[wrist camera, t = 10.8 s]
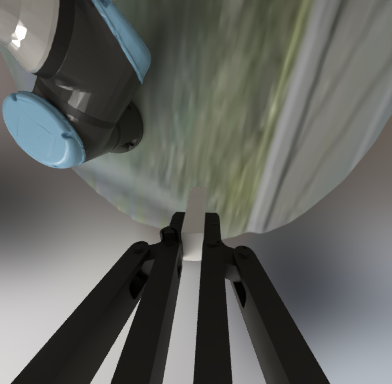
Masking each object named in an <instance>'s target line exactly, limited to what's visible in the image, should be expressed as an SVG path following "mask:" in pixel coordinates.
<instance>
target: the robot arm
mask: <svg viewBox="0 0 392 384" xmlns="http://www.w3.org/2000/svg"><path fill="white" fill-rule="evenodd" d="M0 44H2V45H4V46H5V47H7V48H8V49H9V50H10V52H11V53H12V54H13V55H14V57H15V58H16V59H17V61H18V62H19V63H20V65H21V66H22V67H23V68H24V69H25V70H26V71H28V72H30V73H32V74H34V75H37V79H36V82H35V85H34V88H33V91H32V92H28V91H19V92H18V93H12V94H10V95H8V96H7V97H6V98H5V100H4V102H3V106H2V113H3V118H4V121H5V124H6V126H7V128H8V130H9V132H10V134H11V135H12V136H13V138H14V139H15V141H16V142H17V143H18V145H19V146H20V147H21V148H22V149H23V150H24V151H25V152H27V154H29V155H30V156H31V157H33V158H34V159H35V160H37V161H39V162H40V163H43V164H45V165H47V166H50V167H53V168H69V167H73V166H78V165H81V164H83V163H84V162H86V161H88V160H91V159H93V158H96V157H98V156H100V155H103V154H105V153H108V152H111V153H125V152H128V151H130V150H132V149H134V148H135V147H136V146H137V145H138V144H139V142H140V140H141V138H142V134H143V124H142V120H141V117H140V114H139V112H138V110H137V109H136V107H135V106H134V105H133V104H132V103H131V102H130V101H131V99H132V97H133V95H134V94H135V92H136V90H137V89H138V87H139V85H140V84H142V83H143V78H144V77H145V75H146V73H147V71H148V69H149V67H150V64H151V55H150V52H149V49H148V48H147V46H146V45H145V43H144V42H143V40H142V39H141V38H140V36H139V35H138V34H137V32H136V31H135V30H134V28H133V27H132V26H131V24H130V23H129V22H128V21H127V19H126V18H125V17H124V16H123V14H122V13H121V12H120V11H119V9H118V8H117V7H116V6H115V4H114V3H113V2H112V1H111V0H0ZM160 237H161V242H159V243H156V244H152V245H148V243H147V242H144V241H139V242H136V243H134V244H133V245H131V246H130V248H129V249H128V250H127V251H126V252H125V253H124V254H123V255H122V257H121V258H120V259H119V260H118V261H117V262H116V263H115V265H114V266H113V267H112V268H111V269H110V271H109V272H108V273H107V274H106V275H105V276H104V277H103V278H102V280H101V281H100V282H99V283H98V284H97V285H96V287H95V288H94V289H93V290H92V291H91V292H90V293H89V294H88V296H87V297H86V298H85V299H84V300H83V301H82V303H81V304H80V305H79V306H78V307H77V308H76V309H75V311H74V312H73V313H72V314H71V315H70V316H69V318H68V319H67V320H66V321H65V322H64V323H63V324H62V325H61V327H60V328H59V329H58V330H57V331H56V333H55V334H54V335H53V336H52V337H51V338H50V339H49V340H48V342H47V343H46V344H45V345H44V346H43V347H42V349H41V350H40V351H39V352H38V353H37V354H36V355H35V357H34V358H33V359H32V360H31V361H30V362H29V363H28V365H27V366H26V367H25V368H24V369H23V370H22V371H21V373H20V374H19V375H18V376H17V377H16V378H15V379H14V381H13V382H12V383H11V384H90V383H91V381H92V379H93V378H94V376H95V374H96V373H97V371H98V369H99V368H100V366H101V364H102V362H103V361H104V359H105V357H106V356H107V354H108V352H109V351H110V348H111V347H112V345H113V344H114V342H115V340H116V339H117V337H118V335H119V334H120V332H121V330H122V329H123V327H124V325H125V324H126V322H127V320H128V318H129V317H130V315H131V313H132V312H133V310H134V308H135V307H136V305H137V303H138V302H139V300H140V302H139V305H138V308H137V311H136V314H135V316H134V319H133V322H132V325H131V328H130V330H129V333H128V336H127V339H126V342H125V345H124V347H123V350H122V353H121V356H120V358H119V361H118V364H117V367H116V370H115V373H114V375H113V378H112V381H111V384H162V383H163V377H164V371H165V365H166V359H167V353H168V347H169V342H170V336H171V330H172V323H173V319H174V312H175V307H176V301H177V295H178V289H179V283H180V277H181V272H182V259H183V260H191V261H201V275H200V289H199V305H198V321H197V335H196V350H195V366H194V381H193V384H232V370H231V357H230V343H229V331H228V317H227V304H226V289H225V278H226V279H229V280H230V282H231V284H232V287H233V290H234V293H235V296H236V299H237V301H238V304H239V307H240V310H241V313H242V316H243V318H244V321H245V324H246V327H247V330H248V333H249V335H250V338H251V341H252V344H253V347H254V349H255V352H256V355H257V358H258V361H259V364H260V367H261V370H262V372H263V375H264V378H265V381H266V383H267V384H330V383H329V381H328V379H327V377H326V376H325V374H324V372H323V371H322V369H321V367H320V366H319V364H318V362H317V360H316V358H315V357H314V355H313V353H312V352H311V350H310V348H309V346H308V345H307V343H306V341H305V340H304V338H303V336H302V335H301V333H300V331H299V329H298V328H297V326H296V324H295V322H294V321H293V319H292V317H291V315H290V314H289V312H288V310H287V308H286V307H285V305H284V303H283V302H282V300H281V298H280V296H279V295H278V293H277V291H276V290H275V288H274V286H273V284H272V283H271V281H270V279H269V277H268V276H267V274H266V272H265V270H264V269H263V267H262V265H261V264H260V262H259V260H258V259H257V257H256V255H255V253H254V252H253V251H252V250H251V249H250V248H249V247H246V246H238V247H236V248H235V249H234V248H231V247H228V246H226V245H225V244H224V243H223V242H222V240H221V233H220V219H219V216H218V214H217V213H206V187H191V191H190V196H189V200H188V204H187V209H186V212H176V213H175V214H174V215H173V216H172V219H171V222H170V225H169V226H167V227H165V228H163V229H162V230H161V231H160ZM141 296H142V297H141ZM140 298H141V299H140Z"/></svg>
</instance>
